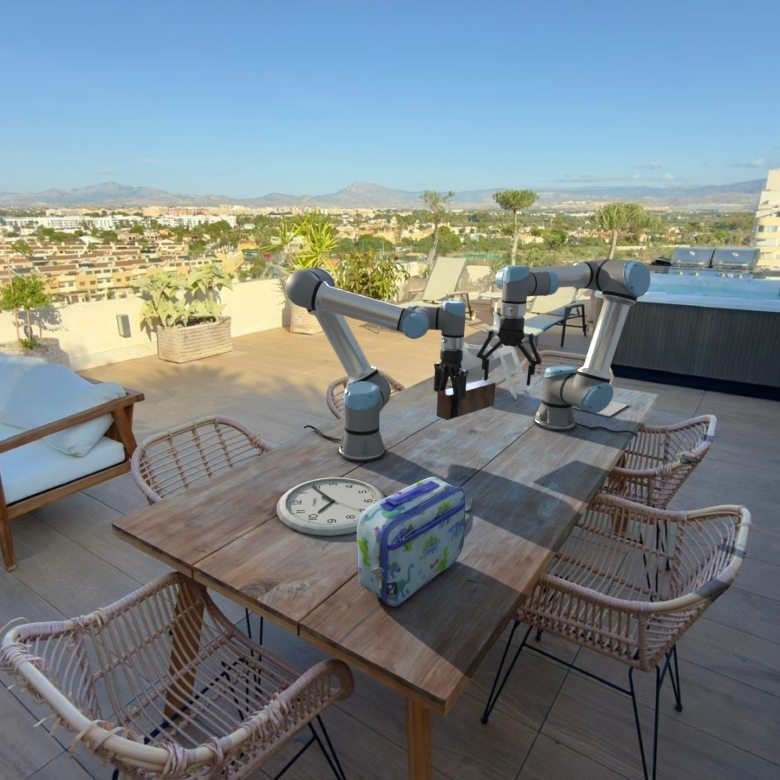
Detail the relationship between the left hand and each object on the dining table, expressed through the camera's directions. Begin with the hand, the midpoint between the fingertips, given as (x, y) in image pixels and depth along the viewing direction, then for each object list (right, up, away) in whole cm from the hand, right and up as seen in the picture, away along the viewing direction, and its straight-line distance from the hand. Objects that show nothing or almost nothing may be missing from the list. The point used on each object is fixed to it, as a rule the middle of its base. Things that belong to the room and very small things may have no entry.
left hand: (448, 414), depth 180 cm
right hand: (+18, +11, -11) cm, 24 cm away
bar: (+7, +1, +6) cm, 9 cm away
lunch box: (-15, -33, -66) cm, 75 cm away
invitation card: (+72, +1, +46) cm, 85 cm away
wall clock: (-36, -23, -37) cm, 56 cm away
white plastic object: (+22, +7, +63) cm, 67 cm away
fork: (-1, -25, -42) cm, 49 cm away
